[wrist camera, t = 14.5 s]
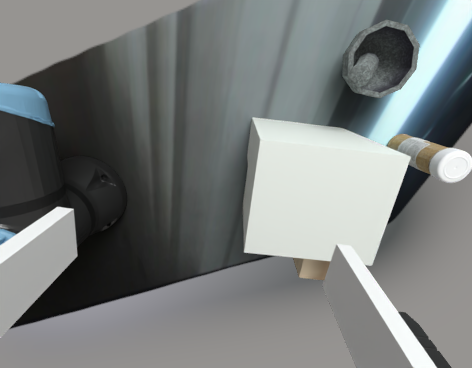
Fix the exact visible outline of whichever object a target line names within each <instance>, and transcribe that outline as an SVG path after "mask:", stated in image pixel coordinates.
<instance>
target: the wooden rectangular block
mask: <svg viewBox="0 0 472 368" xmlns="http://www.w3.org/2000/svg"><path fill="white" fill-rule="evenodd" d="M293 260H294V263H295V266H296V269H297V273H298V276H299V278H307V279H317V280H325V277H326V274H327V271H328V268H329V265H330V262H331V261H322V260H313V259H303V258H293Z"/></svg>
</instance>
